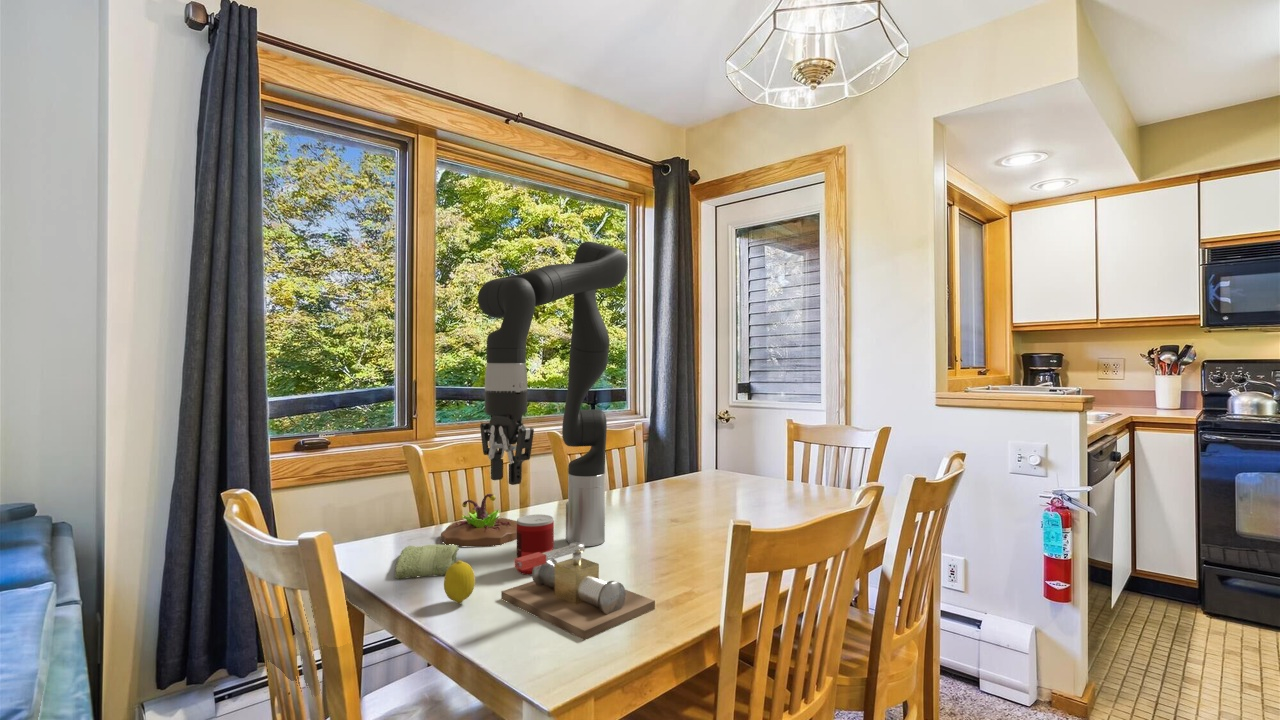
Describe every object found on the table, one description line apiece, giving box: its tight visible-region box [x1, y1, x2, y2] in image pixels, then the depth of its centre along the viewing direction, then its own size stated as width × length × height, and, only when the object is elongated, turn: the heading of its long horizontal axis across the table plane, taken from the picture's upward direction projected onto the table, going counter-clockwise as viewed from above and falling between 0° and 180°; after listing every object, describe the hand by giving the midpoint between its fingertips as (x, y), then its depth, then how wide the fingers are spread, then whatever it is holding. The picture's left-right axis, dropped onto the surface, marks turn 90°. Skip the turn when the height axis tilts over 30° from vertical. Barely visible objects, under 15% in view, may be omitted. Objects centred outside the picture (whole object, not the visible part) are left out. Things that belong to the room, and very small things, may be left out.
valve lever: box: [514, 542, 585, 570], centre depth 106 cm, size 14×3×2 cm, turn 136°
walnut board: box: [500, 580, 656, 641], centre depth 110 cm, size 24×17×2 cm
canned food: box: [516, 514, 555, 575], centre depth 129 cm, size 8×8×11 cm
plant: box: [440, 493, 517, 547], centre depth 154 cm, size 20×20×11 cm
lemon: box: [443, 559, 476, 605], centre depth 110 cm, size 6×6×8 cm
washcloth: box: [394, 544, 460, 579], centre depth 132 cm, size 13×18×3 cm
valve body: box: [531, 553, 626, 614], centre depth 110 cm, size 20×6×9 cm, turn 46°
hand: (505, 481), depth 107 cm, fingers open, 5 cm apart
